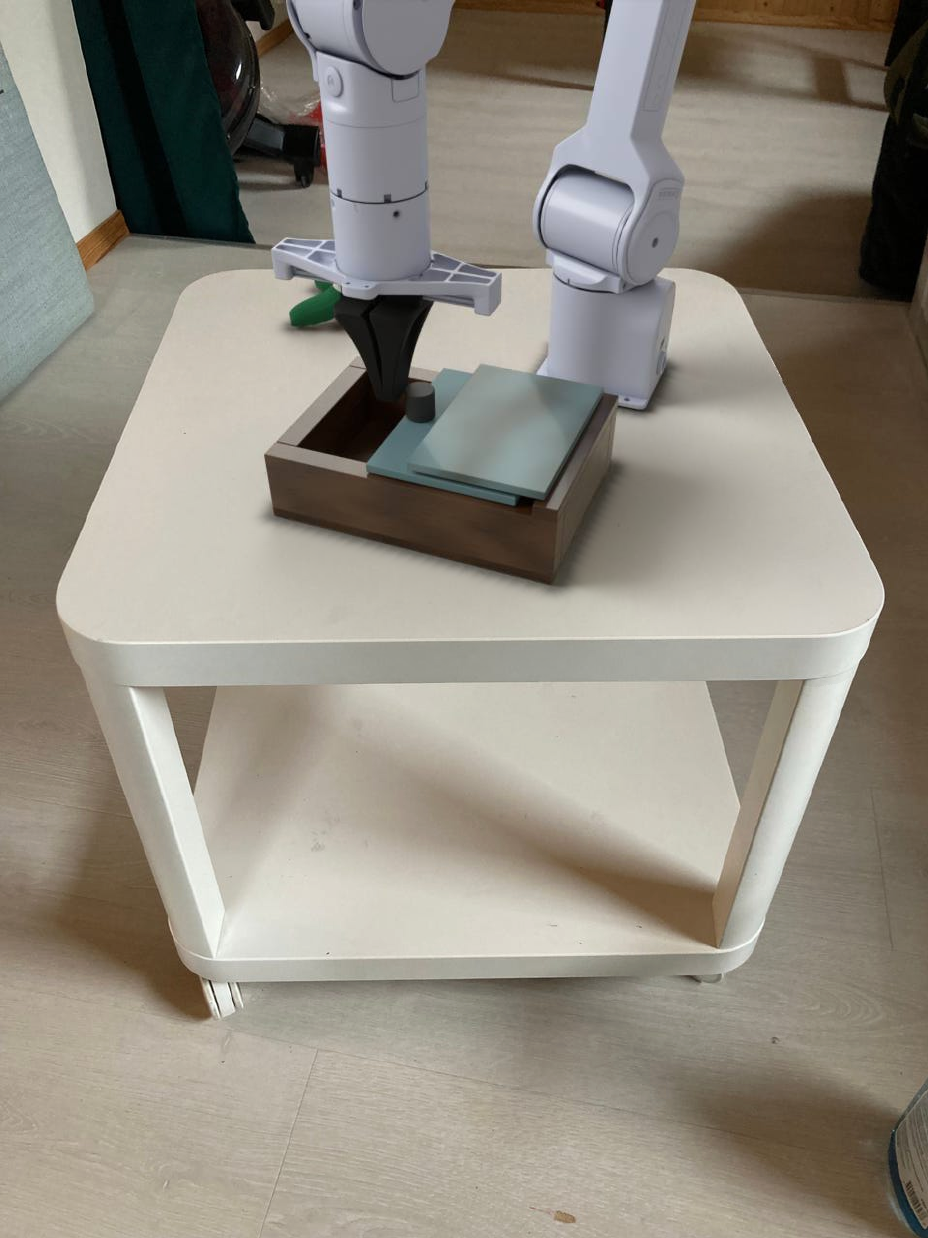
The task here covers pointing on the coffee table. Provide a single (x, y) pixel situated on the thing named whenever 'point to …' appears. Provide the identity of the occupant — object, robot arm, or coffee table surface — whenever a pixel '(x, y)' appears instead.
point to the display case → (453, 468)
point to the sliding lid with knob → (420, 417)
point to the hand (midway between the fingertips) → (392, 394)
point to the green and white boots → (316, 306)
